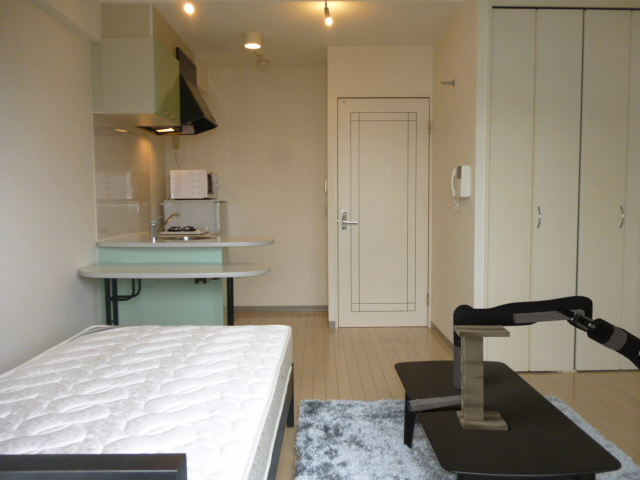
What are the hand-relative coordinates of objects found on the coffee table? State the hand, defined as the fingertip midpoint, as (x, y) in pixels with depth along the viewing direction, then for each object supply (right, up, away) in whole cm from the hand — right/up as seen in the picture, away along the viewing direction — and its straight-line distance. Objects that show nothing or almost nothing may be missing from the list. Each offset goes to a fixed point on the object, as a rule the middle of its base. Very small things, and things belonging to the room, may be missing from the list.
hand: (559, 308), depth 164 cm
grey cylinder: (-35, -39, +15) cm, 55 cm away
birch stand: (-25, -39, +4) cm, 46 cm away
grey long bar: (-3, -4, 0) cm, 5 cm away
